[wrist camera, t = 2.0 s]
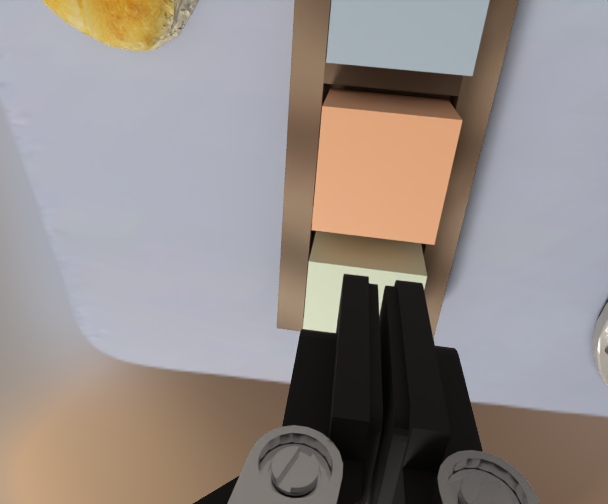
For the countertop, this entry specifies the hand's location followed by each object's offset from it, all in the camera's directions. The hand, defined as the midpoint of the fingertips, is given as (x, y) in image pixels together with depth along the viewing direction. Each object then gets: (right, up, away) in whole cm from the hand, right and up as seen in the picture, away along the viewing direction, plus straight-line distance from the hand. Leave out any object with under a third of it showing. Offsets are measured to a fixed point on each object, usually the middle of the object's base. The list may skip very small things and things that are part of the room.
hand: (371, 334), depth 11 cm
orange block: (+2, +7, +13) cm, 15 cm away
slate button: (+3, +13, +10) cm, 16 cm away
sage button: (+2, +1, +16) cm, 16 cm away
